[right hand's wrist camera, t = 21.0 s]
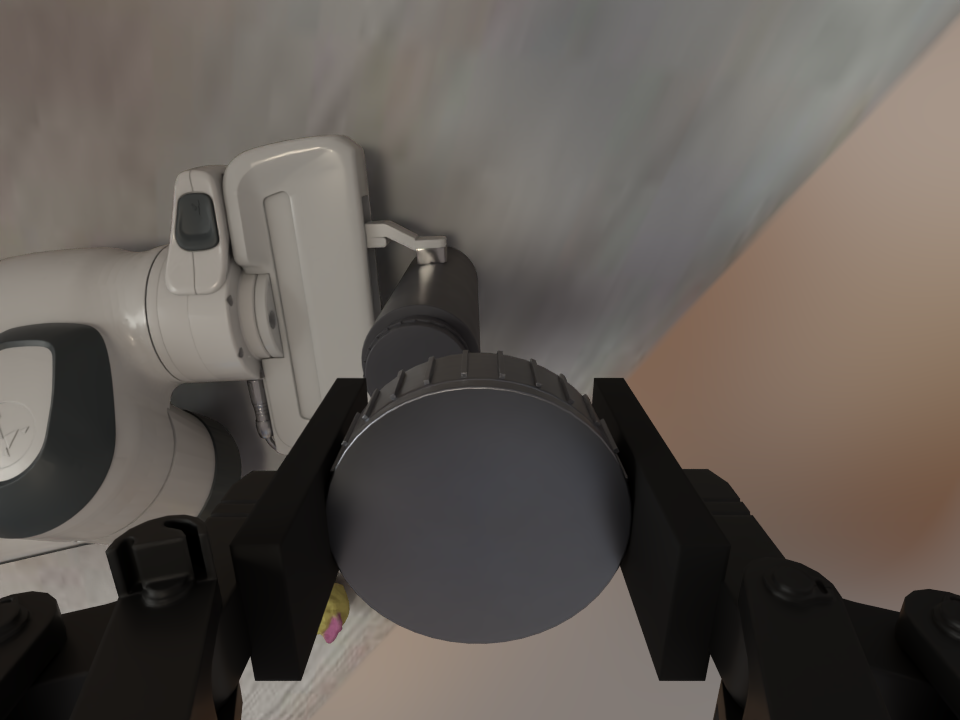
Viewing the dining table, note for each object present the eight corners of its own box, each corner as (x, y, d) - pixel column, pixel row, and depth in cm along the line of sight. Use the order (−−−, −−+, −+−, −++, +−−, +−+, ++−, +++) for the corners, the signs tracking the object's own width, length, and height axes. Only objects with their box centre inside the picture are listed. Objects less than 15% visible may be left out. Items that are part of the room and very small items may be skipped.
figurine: (190, 556, 50) (341, 621, 51) (161, 591, 46) (327, 660, 47) (210, 506, 48) (366, 575, 50) (182, 537, 44) (353, 611, 46)
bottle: (446, 230, 40) (423, 287, 22) (492, 286, 41) (506, 383, 23) (391, 277, 41) (326, 367, 23) (438, 330, 42) (412, 455, 24)
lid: (488, 624, 14) (489, 690, 12) (288, 485, 12) (257, 538, 11) (671, 466, 12) (702, 517, 11) (465, 287, 11) (462, 312, 9)
